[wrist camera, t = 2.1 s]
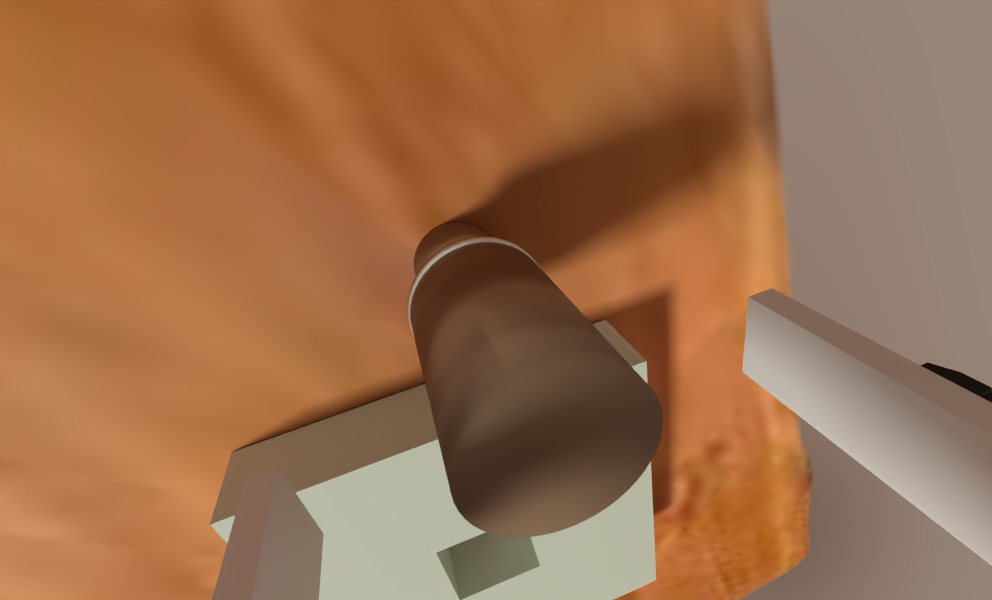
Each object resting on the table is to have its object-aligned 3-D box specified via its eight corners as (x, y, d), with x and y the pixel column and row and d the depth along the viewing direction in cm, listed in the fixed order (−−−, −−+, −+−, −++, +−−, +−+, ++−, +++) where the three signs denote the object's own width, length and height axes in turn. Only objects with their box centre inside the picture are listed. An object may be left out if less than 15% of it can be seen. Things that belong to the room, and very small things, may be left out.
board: (231, 452, 22) (209, 524, 18) (605, 319, 24) (646, 360, 21) (374, 637, 32) (376, 706, 28) (626, 529, 35) (656, 580, 31)
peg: (380, 225, 19) (416, 419, 8) (498, 189, 19) (662, 328, 9) (417, 327, 21) (478, 567, 11) (520, 292, 22) (665, 488, 12)
